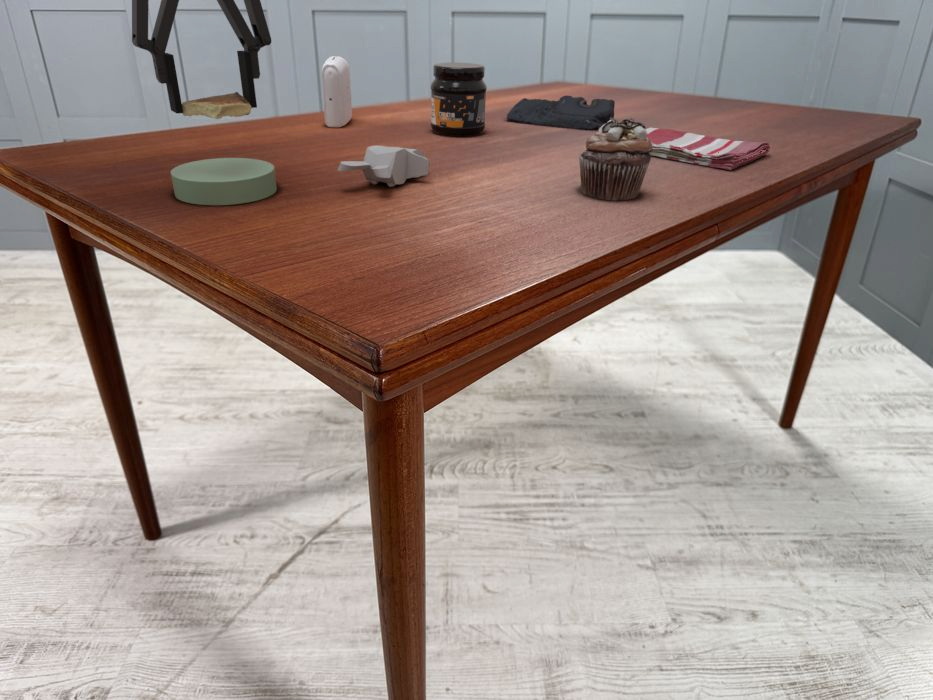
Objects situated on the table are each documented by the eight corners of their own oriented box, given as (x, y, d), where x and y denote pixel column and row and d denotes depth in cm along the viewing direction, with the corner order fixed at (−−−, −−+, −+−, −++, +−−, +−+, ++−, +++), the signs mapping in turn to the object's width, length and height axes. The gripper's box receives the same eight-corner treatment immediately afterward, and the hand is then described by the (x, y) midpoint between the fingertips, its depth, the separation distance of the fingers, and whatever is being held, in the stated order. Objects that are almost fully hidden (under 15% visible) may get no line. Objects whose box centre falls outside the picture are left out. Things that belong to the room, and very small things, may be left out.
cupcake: (620, 181, 99) (630, 111, 94) (658, 199, 91) (671, 123, 86) (563, 186, 96) (570, 113, 91) (597, 204, 88) (606, 126, 83)
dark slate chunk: (523, 110, 153) (524, 88, 151) (618, 119, 146) (621, 96, 144) (500, 121, 141) (501, 97, 138) (603, 131, 133) (606, 106, 131)
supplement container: (419, 132, 128) (419, 64, 122) (450, 124, 136) (451, 60, 130) (465, 139, 123) (467, 69, 117) (495, 131, 131) (498, 65, 125)
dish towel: (732, 171, 106) (736, 154, 105) (604, 148, 120) (606, 132, 118) (769, 155, 118) (773, 139, 116) (648, 135, 131) (650, 121, 130)
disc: (163, 186, 91) (159, 164, 89) (256, 174, 97) (254, 153, 96) (191, 211, 81) (186, 186, 80) (291, 196, 88) (289, 173, 87)
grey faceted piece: (443, 147, 98) (391, 155, 85) (441, 183, 100) (390, 195, 87) (387, 140, 101) (329, 146, 88) (386, 174, 103) (329, 185, 90)
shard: (238, 103, 91) (236, 89, 90) (284, 108, 88) (283, 93, 87) (179, 115, 82) (176, 99, 81) (228, 121, 79) (226, 105, 78)
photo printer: (344, 128, 130) (340, 59, 124) (322, 127, 130) (317, 58, 124) (354, 118, 139) (351, 54, 133) (334, 118, 139) (329, 53, 133)
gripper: (80, -121, 65) (131, 120, 76) (287, -101, 76) (305, 107, 87) (68, -114, 71) (117, 110, 81) (263, -97, 82) (283, 99, 92)
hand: (214, 108), depth 84 cm, fingers closed on shard, 8 cm apart
